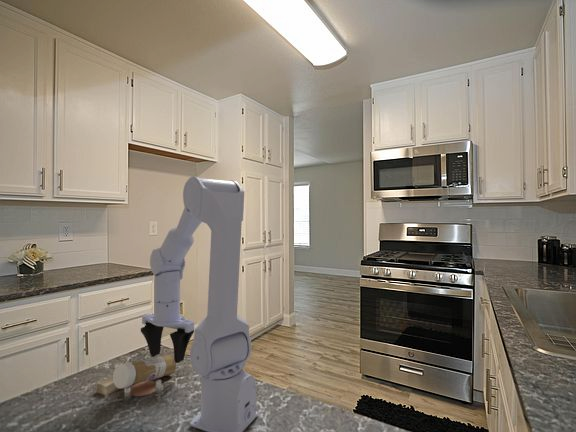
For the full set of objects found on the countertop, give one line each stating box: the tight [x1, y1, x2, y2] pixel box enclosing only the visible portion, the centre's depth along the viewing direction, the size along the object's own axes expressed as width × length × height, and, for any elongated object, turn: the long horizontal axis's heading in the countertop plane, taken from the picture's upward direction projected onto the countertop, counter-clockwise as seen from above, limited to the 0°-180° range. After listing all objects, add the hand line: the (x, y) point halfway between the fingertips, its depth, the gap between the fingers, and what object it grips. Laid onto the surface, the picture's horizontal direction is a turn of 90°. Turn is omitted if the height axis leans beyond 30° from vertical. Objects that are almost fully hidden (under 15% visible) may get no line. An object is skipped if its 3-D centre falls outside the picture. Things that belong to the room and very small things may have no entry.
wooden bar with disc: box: [96, 375, 156, 397], centre depth 69 cm, size 11×11×2 cm
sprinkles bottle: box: [112, 354, 177, 390], centre depth 69 cm, size 5×5×13 cm
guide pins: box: [123, 378, 162, 400], centre depth 66 cm, size 9×5×2 cm, turn 65°
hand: (167, 358), depth 74 cm, fingers open, 7 cm apart
